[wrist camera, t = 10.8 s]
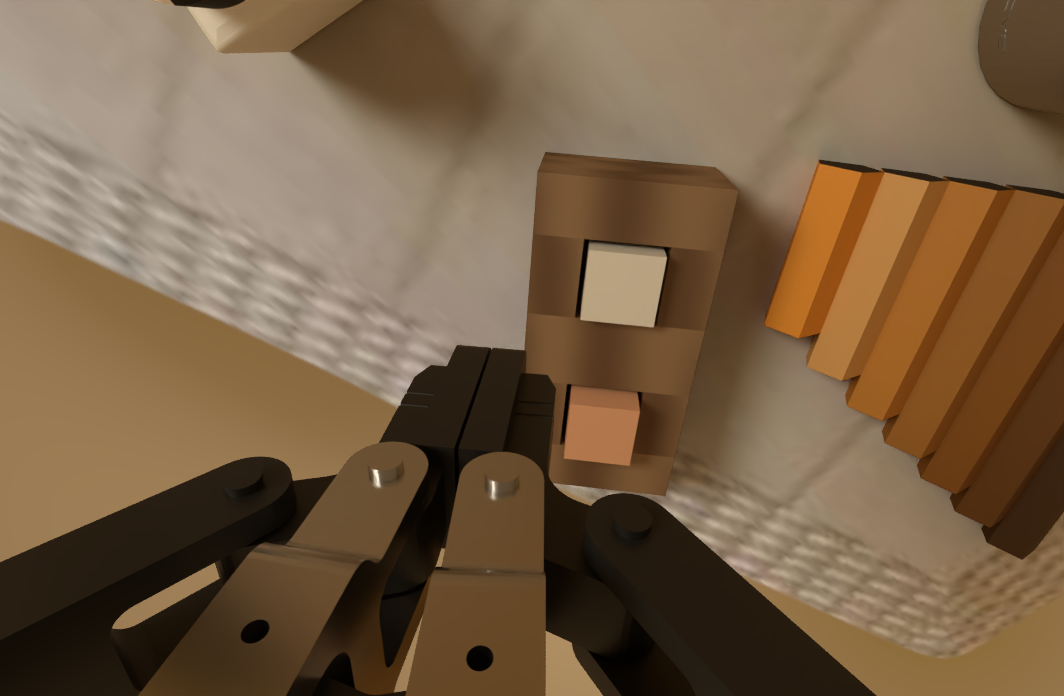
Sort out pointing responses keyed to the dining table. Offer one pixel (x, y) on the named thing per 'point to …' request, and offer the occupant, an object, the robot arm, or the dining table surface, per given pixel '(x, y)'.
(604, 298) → the beige rectangular block
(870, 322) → the pan flute
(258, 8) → the medicine bottle
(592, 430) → the orange-brown rectangular block
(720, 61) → the dining table surface
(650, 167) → the board
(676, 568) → the robot arm
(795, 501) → the dining table surface
